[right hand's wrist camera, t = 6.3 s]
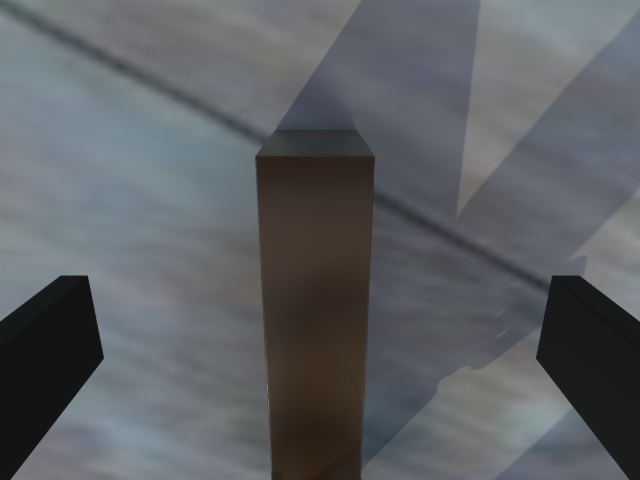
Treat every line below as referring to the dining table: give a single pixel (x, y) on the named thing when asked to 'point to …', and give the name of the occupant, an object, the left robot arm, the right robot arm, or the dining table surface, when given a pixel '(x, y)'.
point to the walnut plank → (315, 298)
